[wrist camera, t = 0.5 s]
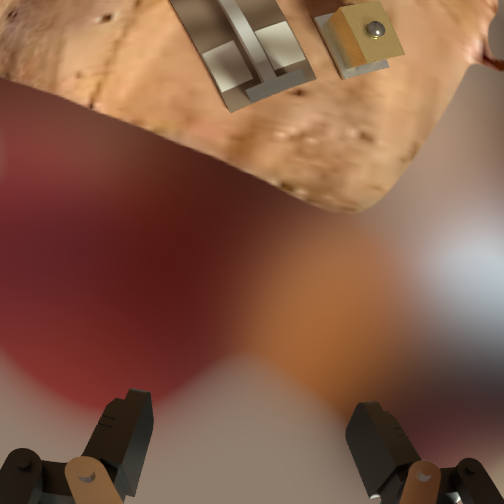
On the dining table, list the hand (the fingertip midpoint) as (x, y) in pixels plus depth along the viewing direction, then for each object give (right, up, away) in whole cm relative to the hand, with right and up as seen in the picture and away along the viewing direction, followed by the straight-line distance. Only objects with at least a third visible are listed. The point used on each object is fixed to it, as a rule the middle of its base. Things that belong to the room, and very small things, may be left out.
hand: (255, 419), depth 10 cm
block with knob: (+11, +29, +14) cm, 34 cm away
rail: (-2, +31, +14) cm, 34 cm away
